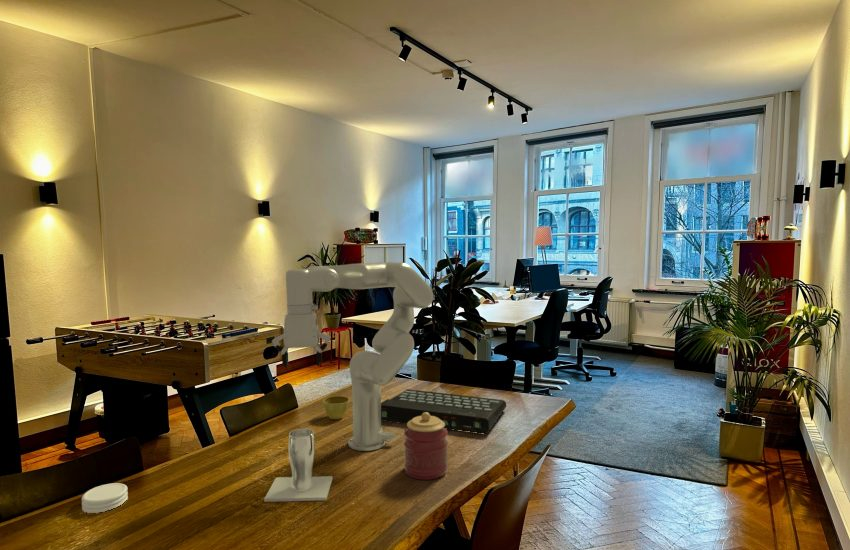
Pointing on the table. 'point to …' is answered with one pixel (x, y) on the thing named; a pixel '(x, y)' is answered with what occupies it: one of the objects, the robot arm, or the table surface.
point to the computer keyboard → (444, 409)
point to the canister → (425, 447)
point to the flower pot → (336, 406)
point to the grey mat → (285, 493)
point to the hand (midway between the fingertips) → (302, 365)
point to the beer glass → (301, 458)
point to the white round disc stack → (104, 498)
